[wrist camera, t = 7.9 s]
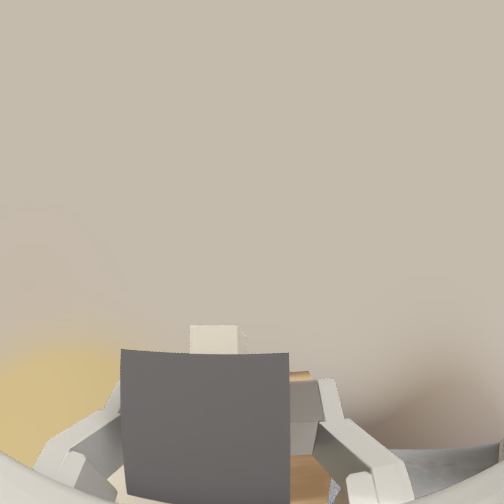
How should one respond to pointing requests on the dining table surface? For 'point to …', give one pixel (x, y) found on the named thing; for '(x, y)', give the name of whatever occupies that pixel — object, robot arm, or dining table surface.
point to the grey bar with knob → (206, 422)
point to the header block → (118, 481)
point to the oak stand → (307, 470)
